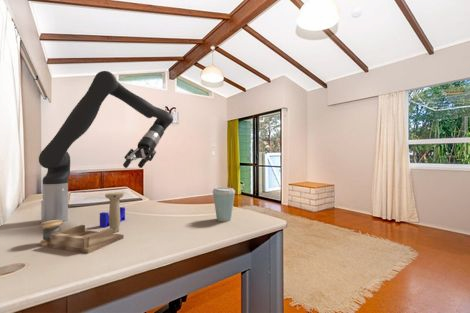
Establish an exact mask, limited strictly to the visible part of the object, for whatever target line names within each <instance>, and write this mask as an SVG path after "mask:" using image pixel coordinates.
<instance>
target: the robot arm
mask: <svg viewBox="0 0 470 313" xmlns="http://www.w3.org/2000/svg"><path fill="white" fill-rule="evenodd" d="M109 95H111V96H113V97H114V98H117V99H118V100H120V101H122V102H124V103H125V104H126V105H128V106H129V107H131V109H133V110H135V111H136V112H138V113H139V114H141V115H142V116H144V117H146V118H147V119H152V118H156V119H155V121H154V122H153V124H151V126H150V128H149V129H148V130H147V132H146V133H145V134H144V135H143V136H142V137H141V139H140V140H139V142H138V143H137V148H135V149H133V148H131V149H130V150H128V151H127V153H126V155H125V156H124V157H123V158H124V159H125V160H124V162H123V165H122V166H123V167H124V169H127V168H128V167H129V166H130V165H131V163H132V162H133V161H136V160H138V159H141V160H140V161H139V162H138V163H137V166H138V167H139V169H143V167H144V166H145V165H146V163H147V162H151V161H152V160H153V159H154V157H155V155H156V154H157V151H156V150H155V149H156V147H157V146H158V144H159V143H160V140H161V138H162V137H163V136H164V135H165V131H166V130H167V128H168V127H169V126H170V125H171V124H172V123H173V122H174V116H173V115H172V114H171V113H170V112H169V111H167V110H165V109H162V108H160V107H157V106H155V105H153V104H152V103H150V102H149V101H148V100H146V99H144V98H142V97H141V96H139V95H137V94H135V93H134V92H132V91H130V90H129V89H127V88H125V86H124V85H123V84H122V83H120V82H119V81H118V80H117V78H116V76H115V75H114V74H113V73H112V72H111V71H108V70H103V71H101V70H100V71H99V72H97V73H96V75H94V78H93V80H92V82H91V83H90V86H88V89H87V91H86V92H85V94H84V95H83V97H81V99H80V100H79V101H78V103H77V104H76V105H75V106H74V107H73V109H72V110H71V112H70V113H69V114H68V116H67V117H66V119H65V121H64V122H63V124H62V125H61V127H60V128H59V130H58V131H57V133H56V134H55V135H54V136H53V138H52V139H51V140H50V142H49V143H48V144H47V145H46V146H45V147H44V148H43V149H42V150H41V152H40V154H39V156H38V163H39V164H40V166H41V167H42V168H44V169H47V172H46V175H45V176H43V177H42V200H41V203H40V204H41V207H40V208H41V209H40V210H41V213H40V214H41V216H40V217H41V223H42V222H45V221H51V220H63V222H65V221H68V219H69V190H68V189H69V178H70V175H71V156H70V153H69V152H68V150H69V148H70V147H71V146H72V144H74V143H75V141H77V140H78V139H80V138H81V137H82V136H83V135H84V134H85V133H86V132H87V131H88V130H89V128H90V127H91V126H92V125H93V122H94V121H95V119H96V117H97V116H98V114H99V111H100V108H101V106H102V104H103V102H104V101H105V100H106V98H107V97H108V96H109Z"/></svg>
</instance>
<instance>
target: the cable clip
mask: <svg viewBox="0 0 470 313" xmlns="http://www.w3.org/2000/svg"><path fill="white" fill-rule="evenodd" d="M125 220H126V207H125V206H123V207H121V206H120V223H121V222H123V221H125ZM99 227H100V228H108V227H110V226H109V212H106V211H105V212H103V211H101V212H99Z"/></svg>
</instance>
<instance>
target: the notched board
mask: <svg viewBox="0 0 470 313" xmlns="http://www.w3.org/2000/svg"><path fill="white" fill-rule="evenodd" d="M124 236H125V235H124V234H121V233H114V232H113V228H110V227H109V228H108V227H107V228H105V229H104V230H100V231H95V230H88V229H86V225H85V224H80V225H78V226H73V227H69V228H66V229H63V230H60V231H59V232H56V233H53V234H50V242H48V243H46V246H47V247H48V248H52V247H53V248H52V249H60V250H65V251H72V252H78V253H83V254H90V253H93V252H94V251H95V252H96V251H98V250H99V249H102V248H105V247H106V246H108V245H111V244H113V243H116V242H118V241H120V240H122V239H124ZM46 246H45V247H46Z"/></svg>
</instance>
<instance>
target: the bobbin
mask: <svg viewBox="0 0 470 313" xmlns="http://www.w3.org/2000/svg"><path fill="white" fill-rule="evenodd" d="M63 223H64V221H63V220H51V221H45V222H41V223H39V224H40V228H43V229H42V239H41V240H40V246H42V247H46V243H48V242H50V234H53V233H56V232H59V231H61V226H62V225H63Z"/></svg>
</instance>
